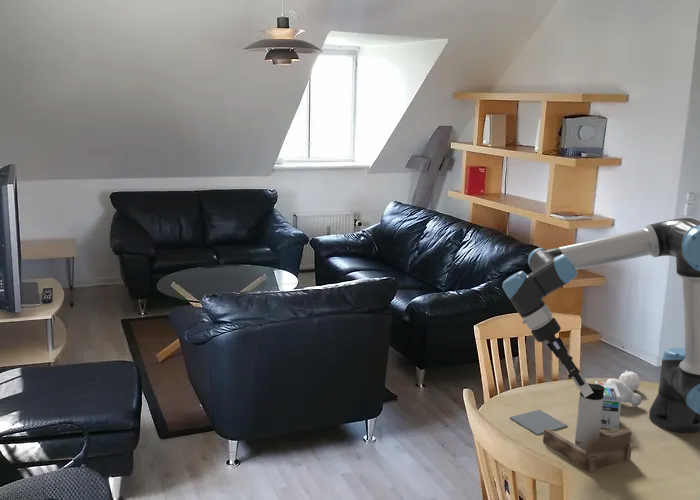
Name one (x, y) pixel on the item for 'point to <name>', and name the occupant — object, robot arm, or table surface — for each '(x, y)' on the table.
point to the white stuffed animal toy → (626, 393)
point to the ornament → (630, 380)
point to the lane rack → (593, 448)
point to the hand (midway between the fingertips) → (584, 388)
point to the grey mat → (538, 421)
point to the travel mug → (589, 416)
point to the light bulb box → (610, 406)
